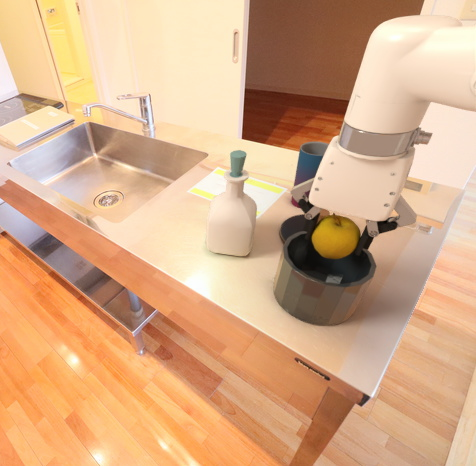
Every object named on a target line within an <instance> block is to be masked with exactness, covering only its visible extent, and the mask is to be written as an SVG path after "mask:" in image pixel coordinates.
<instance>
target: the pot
mask: <svg viewBox="0 0 476 466" xmlns="http://www.w3.org/2000/svg"><path fill="white" fill-rule="evenodd" d="M306 233H307V232H306V231H301V232H298V233H296V234H294V235H292V236H291V237H289V238H288V239H287V240H286V242H284V244H283V245H282V249H281V253H280V257H279V259H278V260H279V261H278V264H277V268H276V272H275V276H274V280H273V282H272V283H273V284H272V285H273V289H272V290H273V295H274V298H275V300H276V302H277V303H278V305H279V306H280V307H281V308H282V309H283V311H285V312H286V313H287V314H288V315H290V316H292V318H295V319H297V320H299V321H301V322H303V323H306V324H309V325H312V326H313V325H314V326H320V327H330V326H336V325H340V324H342V323H345V322H346V321H348V320H349V318H351V316H353V315H354V313H355V311H356V309H357V308H358V306H359V304H360V302H361V300H362V298H363V296H364V295H365V293H366V291H367V289H369V286H370V284H371V282H372V280H373V278H374V277H375V273H376V270H377V263H376V260H375V258H374V255H373V254H372V253H371V252H370V251H369V249H368V250H367V249H362V251H361V253H360V255H355V253H354V252H355V250H356V249H355V250H354V251H353V252H352V253H350V254H349V255H347V256H345V257H343V258H340V259H330V258H325V257H323V256H321V255H320V254H319V252H318V251H317V250H316V249H315V247H314V245H313V243H312V237H311V238H310V240H307V239H305V237H306Z"/></svg>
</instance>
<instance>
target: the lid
mask: <svg viewBox="0 0 476 466" xmlns="http://www.w3.org/2000/svg"><path fill="white" fill-rule="evenodd" d="M330 212H331V211H330V210H326V209H323V210H321V211H320V212H319V213H320V216H319V219H318V222H319V221H320V220H321V219H322V218H324V217H325V216H328V215H331V213H330ZM305 222H306V218H305V213H304V214H296V215H293V216H290V217H288V218H287V219H285V220H284V221H283V222H282V223H281V225H280V229H279V235H280V238H281V240H282V241H283V243H285V242H286V240H287V239H288V238H289V237H291V236H292V235H294V234H296V233H298V232H301V231H303V229H304V226H305ZM318 222H317V223H318Z"/></svg>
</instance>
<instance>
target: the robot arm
mask: <svg viewBox="0 0 476 466" xmlns="http://www.w3.org/2000/svg"><path fill="white" fill-rule="evenodd" d="M365 47H366V48H365V50H364V53H363V57H362V59H361V62H360V63H361V64H360V67H359V69H358V73H357V76H356V80H355V82H354V86H353V89H352V91H351V92H352V93H351V95H350V99H349V101H348V105H347V108H346V112H345V115H344V118H343V120H342V124H341V127H340V130H339V134H338V135H335V136H333V137H332V139H331V140H330V142H329V143H328V144H329V146H328V148H327V150H326V152H325V154H324V156H323V158H322V161H321V163H320V166H319V168H318V171H317V173H316V176H315V177H314V178H312V179H310V180H308V181H305V182H303V183H301V184H299V185H297V186H294V185H293V187H292V188H291V190H290V191H289V193H290V195H291V197H292V196H293V198H294V199H295V200H296V201H297V202H298V206H299V207H300V208H299V209H300V210H301V211H302V212H303V213H304V214H305V218H306V222H305V226H304V229H303V231H306V232H307V233H306V237H305V239H307V240H310V238H311V237H312V233H313V230H314V228H315V226H316V225H317V222H318V219H319V216H320V213H319V212H320V211H321V210H323V209H326V210H328V211H329V212H333V213H339V214H342V215H347V216H350V217H354V218H359V219H363V220H365V224H366V225H365V227H364V229H363V231H362V232H361V237H360V241H359V243H358V246H357V247H356V250H355V252H354V253H355V255H360V253H361V251H362V249H367V250H368V251H369V249H370V247H371V245H372V243H373V241H374V239H375V238H377V237H378V236H379V235H380V234H384V233H388V232H391V231H395V230H397V229H398V228H403V227H407V226H410V225H413V224H415V223H416V222H417V218H418V215H417V213H416V212H415V210H414V209H413V208H412V207H411V205H410V204H409V203H408V202H407V201H406V199H405V198H404V197H403V196H402V193H403V189H404V187H405V185H406V182H407V179H408V177H409V175H410V172H411V168H412V166H413V163H414V159H415V154H416V147H415V145H428V144H429V143H430V141H431V139H432V137H433V132H428V131H425V130H422V127H420V125H421V124H422V121H423V119H424V117H425V116H426V113H427V111H428V109H429V107H430V105H431V103H435V104H439V105H443V106H447V107H450V108H456V109H459V110H462V111H463V110H464V111H469V112H474V113H476V23H475V24H474V25H463V23H462V22H461V21H460V20H459V19H458V18H457V17H452V16H450V15H441V14H416V15H406V16H399V17H395V18H392V19H388V20H386V21H383V22H382V23H380V24H379V25H377V26H376V28H374V30H373V31H372V33H371V34H370V36H369V39H368V42H367V44H366V46H365ZM307 191H310V194H309V197H308V196H306V195H305V192H307ZM394 211H395V212H396V214H397V215H396V216H391V215H392V213H393V212H394Z"/></svg>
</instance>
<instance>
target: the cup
mask: <svg viewBox="0 0 476 466" xmlns="http://www.w3.org/2000/svg"><path fill="white" fill-rule="evenodd" d="M329 144H330V143H327V142H325V141H324V142H323V141H307V142H304V143H302V144H301V145H300V146H299V152H298V157H297V165H296V169H295V174H294V175H295V176H294V182H293V187H294V186H297V185H299V184H301V183H303V182H305V181H308V180H310V179H312V178H314V177H315V176H316V173H317V171H318V168H319V166H320V163H321V161H322V158H323V156H324V154H325V152H326V150H327V148H328V146H329ZM309 194H310V191H307V192H305V195H306V196H308V197H309ZM290 204H291V205H293V206H294V207H295V208H299V209H301V208H300V207H299V206H298V202H297V201H296V200H295V199H294V198H293V196H292V195H291V200H290Z"/></svg>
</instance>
